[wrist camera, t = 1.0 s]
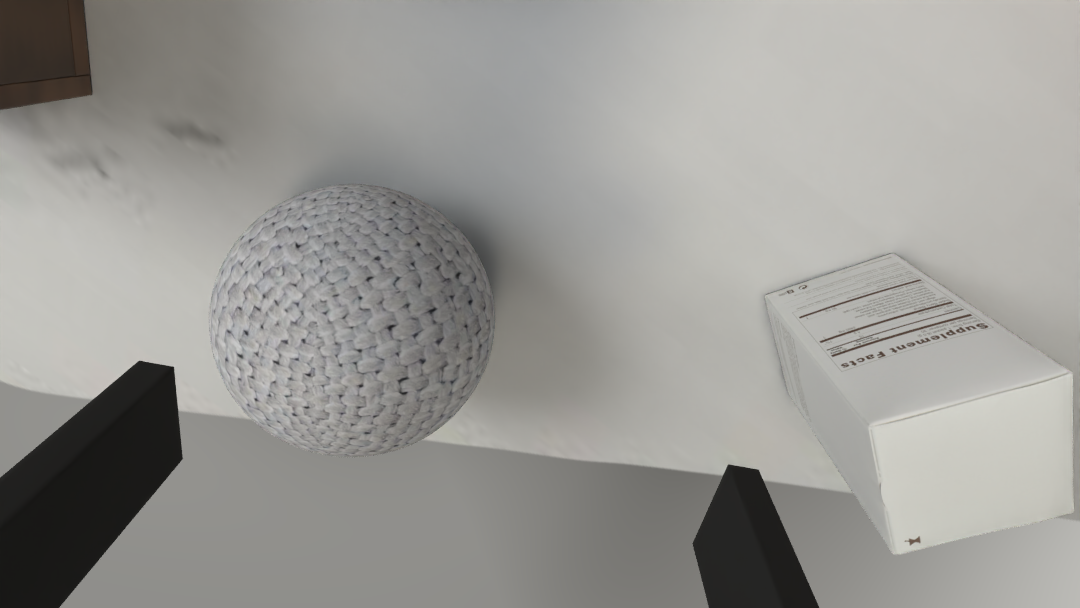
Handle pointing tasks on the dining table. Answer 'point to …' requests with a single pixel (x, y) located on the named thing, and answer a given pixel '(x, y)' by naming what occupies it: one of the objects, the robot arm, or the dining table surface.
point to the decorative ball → (351, 320)
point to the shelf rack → (42, 52)
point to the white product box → (926, 404)
